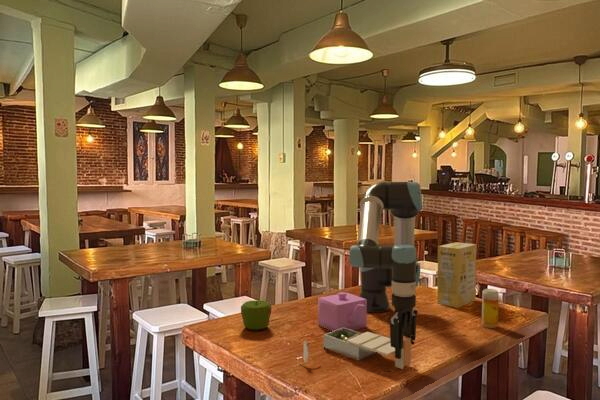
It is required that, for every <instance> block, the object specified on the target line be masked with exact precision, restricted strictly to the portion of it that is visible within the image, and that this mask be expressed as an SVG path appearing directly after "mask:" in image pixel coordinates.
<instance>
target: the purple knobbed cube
mask: <svg viewBox="0 0 600 400" xmlns="http://www.w3.org/2000/svg"><path fill="white" fill-rule="evenodd" d="M317 300H318V303H317V305H318V307H317V309H318V312H317V313H318V316H317V318H318V321H317V322H318V323H317V324H319V325H321V326H323V327H325V328H327V329H329V330H330V332H331V331H334V330H337V329H340V328H342V327H344V328H347V329H350V330H354V331H356V330H355V329H357V330H360V329H359V328H361V329H364V327H365V328H368V327H367V325H368V322H367V316H368V314H367V313H368V312H367V300H366V299H364V298H361V297H359V296H358V295H355V294H352V293H350V292H344V291H343V292H342V291H340V292H338V293H336V294H331V295H326V296H322V297H321V296H320V297H318V299H317ZM319 325H318V326H319ZM321 326H320V327H321ZM323 327H322V328H323ZM325 328H324V329H325ZM327 329H326V330H327ZM329 330H328V331H329Z"/></svg>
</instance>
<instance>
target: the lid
mask: <svg viewBox="0 0 600 400" xmlns="http://www.w3.org/2000/svg"><path fill="white" fill-rule="evenodd" d="M362 333H363V334H360V335H358V336H356V337H353V338H351V339H348V340H347V343H350V344H353V345H356V346H359V347H362V348H365V349H368V350H371V351H374V352H377V353H376V354H380V355H383V356H386V357H389V356H392V355H393V354H395V348H394V347H391V344H390V338H389V337H386V336H384V335H382V334H381V333H380V334H379V333H378V334H377V333H373V332H371V331H366V332H362ZM402 348H404V367H405V366H406V365H408V364H409V363H411V364H412V344H411V338H409V337H405V336H404V335H403V345H402Z"/></svg>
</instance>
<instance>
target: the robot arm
mask: <svg viewBox="0 0 600 400" xmlns="http://www.w3.org/2000/svg"><path fill="white" fill-rule="evenodd" d="M359 209H360V211H361V213H360V218H359V219H360V220H359V227H358V232H357V233H358V234H357V239H356V240H357V243H356V245H354V244H353V245H351V246H350V248H349V255H348V256H349V257H348V258H349V259H348V260H349V265H350V266H351V267H353V268H355V267H356V268H360V272H361V274H360V276H361V277H360V292H359V293H360V294H359V296H358V297H361V298H364V299H366V300H367V313H385V312H388V311H390V309H391V305H392V307H394V312H393V316H392V317H391V316H389V317H388V323H389V335H390V336H389V337H390V344H391V347H394V348H395V353H394V366H395V367H396V368H399V369H401V370H403V369H404V367H405V366H404V348H402V345H403V336H405V337H409V338H411V345H415V340H416V335H417V334H416V333H417V331H416V330H417V316H418V310H417V309H414V308H415V307H416V305H417V304H416V303H417V301H416V300H417V299H416V298H417V296H416V292H417V290H416V289H417V287H418V285H419V283H420V278H421V277H420V275H421V263H419V262H418V261H417V256H418V255H417V248H416V246H415V237H416V236H415V229H416V227H415V226H416V225H415V224H416V217H417V216H418V215H419V213H420V211H423V198H422V188H421V185H420V183H419V182H417V181H380V182H377V183H374V184H373V185H371V186H370V187H368V188H367V189H366V190H365V191H364V193H363V194H362V196H361V198H360V200H359ZM383 210H386V211H387V210H388V211H390V214H391V215H392V216H393V217H394V222H393V227H394V228H393V229H394V231H393V232H394V233H393V235H394V236H393V238H394V240H393V243H394V246H386V245H385V246H384V245H380V246H379V241H380V239H379V237H380V228H381V227H380V226H381V225H380V224H381V213H382V212H383ZM387 288H391V292H392V294H391V303H390V301H389V297H388V293H387ZM411 364H412V362H411V363H409V364H407V365H408V366H410V365H411Z"/></svg>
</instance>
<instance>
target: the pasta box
mask: <svg viewBox="0 0 600 400" xmlns="http://www.w3.org/2000/svg"><path fill="white" fill-rule="evenodd" d="M476 270H477V244H475V243H467V242H459V241H457V242H456V241H455V242H451V243H447V244H442V245H437V294H436V295H437V299H436V301H437V302H436V303H437V304H438V305H442V306H447V307H451V308H457V309H459V308H461V307H463V306H466V305H468V304H470V303H472V302H475V301H476V292H477V291H476V289H477V288H476V283H477V282H476V281H477V280H476V279H477V271H476ZM458 307H459V308H458Z"/></svg>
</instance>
